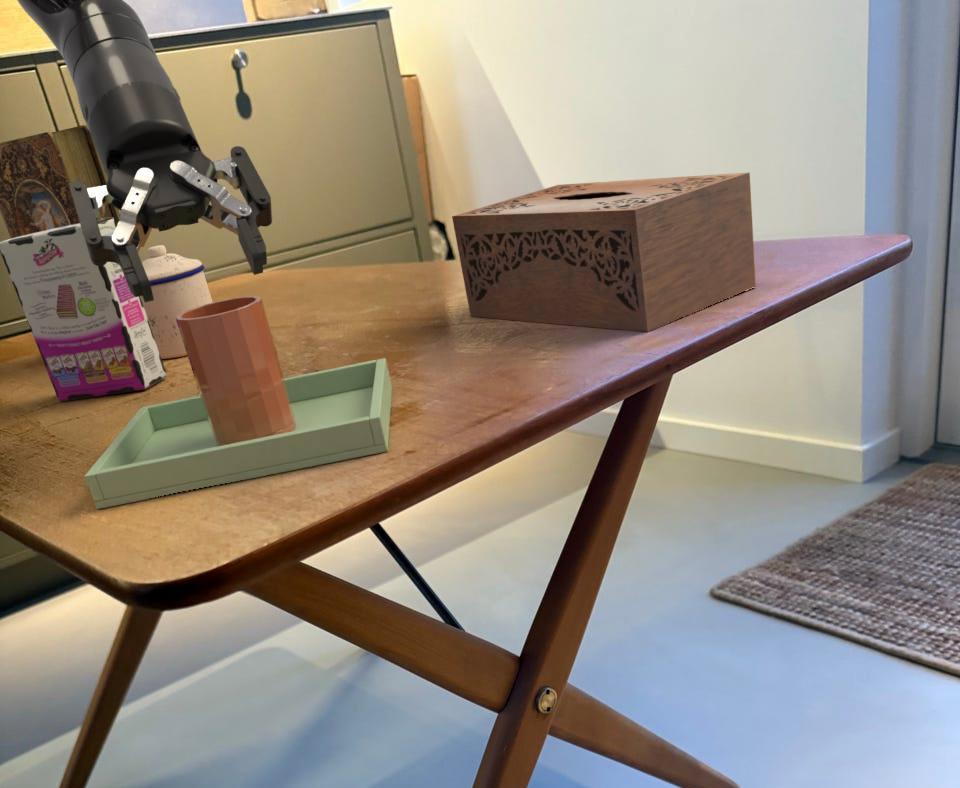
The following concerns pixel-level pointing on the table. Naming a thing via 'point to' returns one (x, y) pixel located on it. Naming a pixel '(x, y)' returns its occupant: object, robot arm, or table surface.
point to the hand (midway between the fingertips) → (203, 280)
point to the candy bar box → (82, 314)
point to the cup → (237, 369)
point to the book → (47, 179)
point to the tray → (201, 463)
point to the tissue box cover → (610, 251)
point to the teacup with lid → (172, 296)
